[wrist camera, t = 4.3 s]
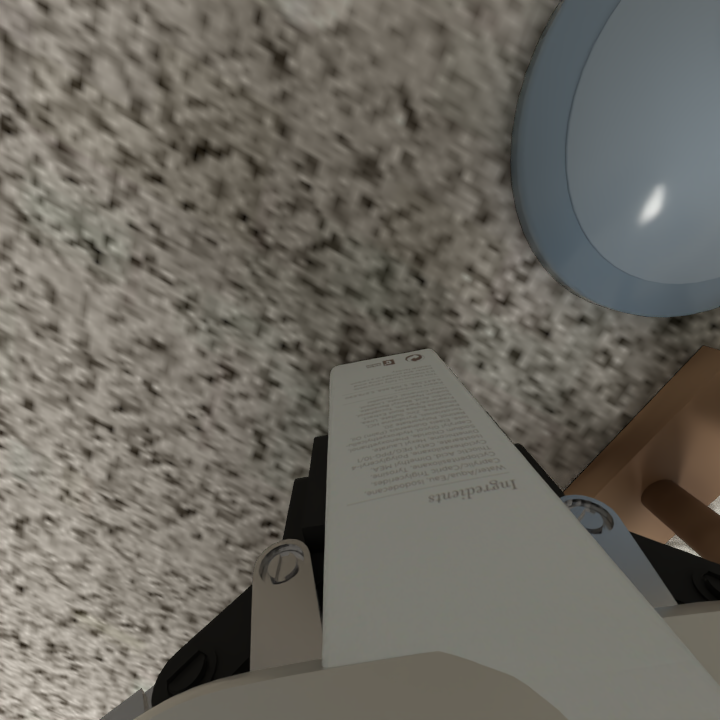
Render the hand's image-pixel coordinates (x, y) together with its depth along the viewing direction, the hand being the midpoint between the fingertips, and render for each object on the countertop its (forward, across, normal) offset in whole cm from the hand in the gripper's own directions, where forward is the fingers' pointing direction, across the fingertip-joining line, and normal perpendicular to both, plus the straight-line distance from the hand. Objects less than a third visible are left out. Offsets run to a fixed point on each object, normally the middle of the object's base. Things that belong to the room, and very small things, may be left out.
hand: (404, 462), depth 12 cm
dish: (+3, -11, -9) cm, 14 cm away
